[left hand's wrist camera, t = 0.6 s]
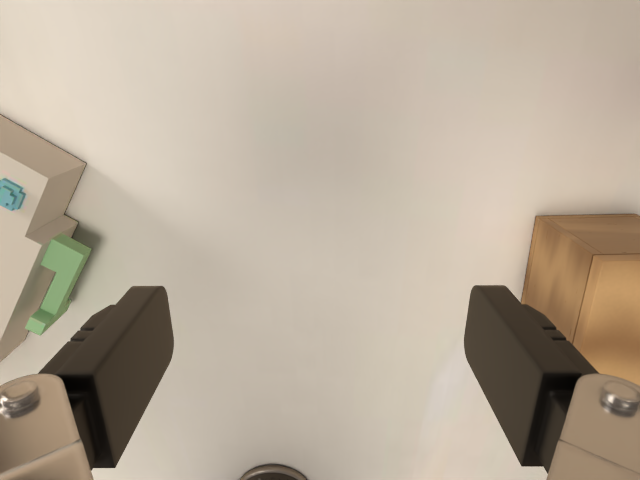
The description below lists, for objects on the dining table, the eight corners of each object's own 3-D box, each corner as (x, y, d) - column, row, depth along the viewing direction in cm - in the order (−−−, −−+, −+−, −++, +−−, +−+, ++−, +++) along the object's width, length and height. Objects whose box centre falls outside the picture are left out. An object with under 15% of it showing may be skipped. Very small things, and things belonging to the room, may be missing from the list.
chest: (599, 350, 46) (662, 413, 37) (512, 352, 46) (555, 415, 38) (635, 213, 40) (719, 251, 32) (535, 215, 40) (592, 254, 32)
